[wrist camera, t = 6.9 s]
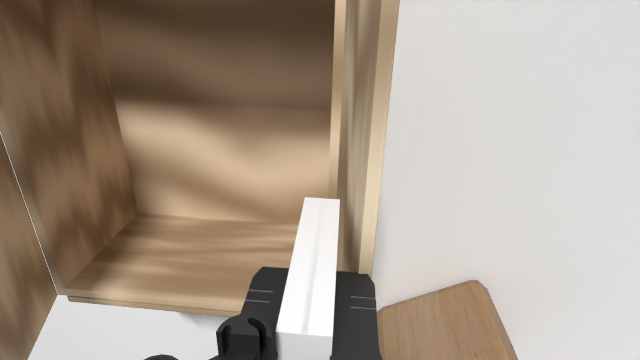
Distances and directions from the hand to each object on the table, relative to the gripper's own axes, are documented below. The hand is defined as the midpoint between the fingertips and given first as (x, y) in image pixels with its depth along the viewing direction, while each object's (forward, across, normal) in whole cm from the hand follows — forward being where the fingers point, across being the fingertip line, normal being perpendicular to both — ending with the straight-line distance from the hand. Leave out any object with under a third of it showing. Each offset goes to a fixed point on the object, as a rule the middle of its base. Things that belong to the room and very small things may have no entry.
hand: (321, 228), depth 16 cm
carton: (+15, -8, 0) cm, 17 cm away
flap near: (+5, +1, 0) cm, 5 cm away
